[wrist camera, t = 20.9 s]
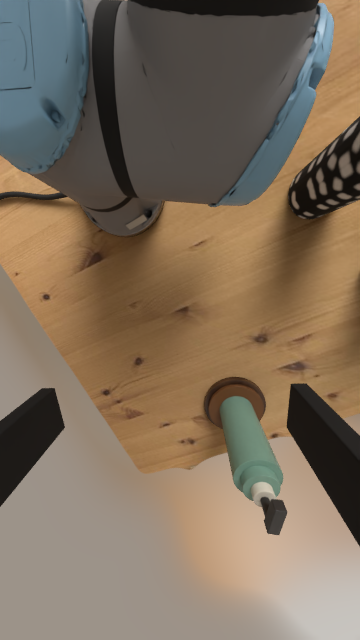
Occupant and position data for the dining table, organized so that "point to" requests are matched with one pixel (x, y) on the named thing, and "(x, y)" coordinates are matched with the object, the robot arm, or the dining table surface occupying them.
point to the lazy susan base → (230, 382)
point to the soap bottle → (249, 450)
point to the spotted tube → (329, 177)
